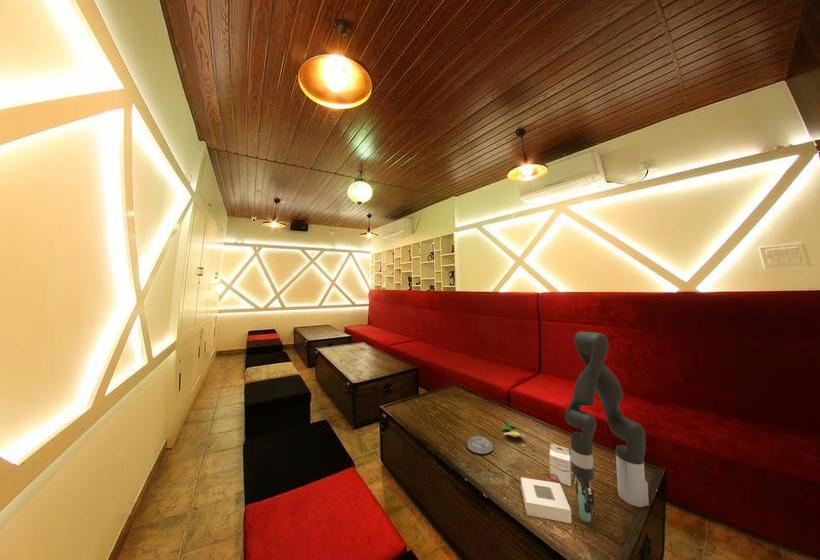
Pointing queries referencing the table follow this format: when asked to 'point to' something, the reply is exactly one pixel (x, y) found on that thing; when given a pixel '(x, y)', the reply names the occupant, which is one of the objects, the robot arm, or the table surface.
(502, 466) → the table surface
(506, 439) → the table surface
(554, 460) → the ink cartridge box
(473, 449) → the flying saucer
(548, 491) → the socket board
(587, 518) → the peg
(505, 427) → the decorative flower
